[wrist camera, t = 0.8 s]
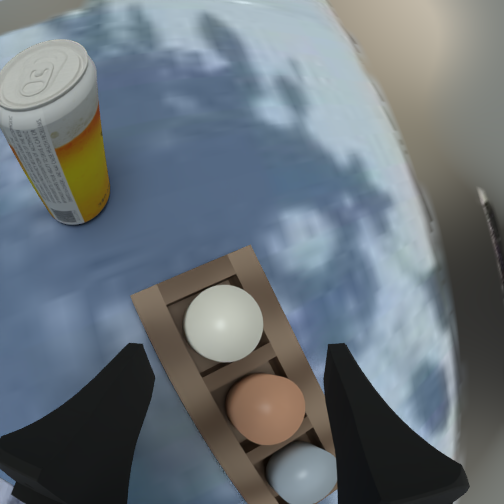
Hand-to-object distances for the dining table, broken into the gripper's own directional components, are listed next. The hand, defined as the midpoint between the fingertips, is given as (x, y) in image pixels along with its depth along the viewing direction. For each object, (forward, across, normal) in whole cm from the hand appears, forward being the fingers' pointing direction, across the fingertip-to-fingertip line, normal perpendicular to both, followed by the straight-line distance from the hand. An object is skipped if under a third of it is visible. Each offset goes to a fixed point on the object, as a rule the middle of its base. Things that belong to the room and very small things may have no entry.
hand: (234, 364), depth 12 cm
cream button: (+10, +3, +6) cm, 12 cm away
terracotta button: (+6, 0, +12) cm, 13 cm away
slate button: (+3, -3, +17) cm, 17 cm away
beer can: (+15, +15, -3) cm, 22 cm away
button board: (+8, +1, +13) cm, 15 cm away
